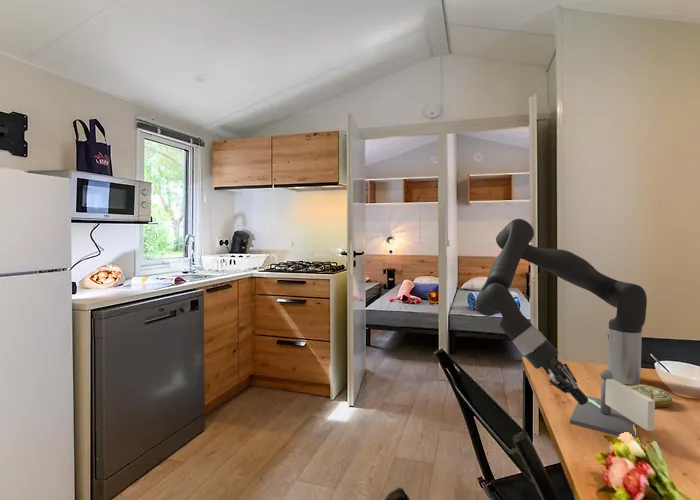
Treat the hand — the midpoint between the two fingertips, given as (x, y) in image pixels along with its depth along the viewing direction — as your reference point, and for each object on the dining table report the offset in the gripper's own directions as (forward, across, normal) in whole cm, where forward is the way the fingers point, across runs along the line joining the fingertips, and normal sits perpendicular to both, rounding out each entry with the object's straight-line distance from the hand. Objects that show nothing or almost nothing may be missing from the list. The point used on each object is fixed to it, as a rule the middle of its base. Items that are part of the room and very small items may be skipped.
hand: (585, 402), depth 101 cm
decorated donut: (+14, -31, +4) cm, 34 cm away
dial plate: (+7, -11, -2) cm, 13 cm away
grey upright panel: (+8, -8, 0) cm, 11 cm away
